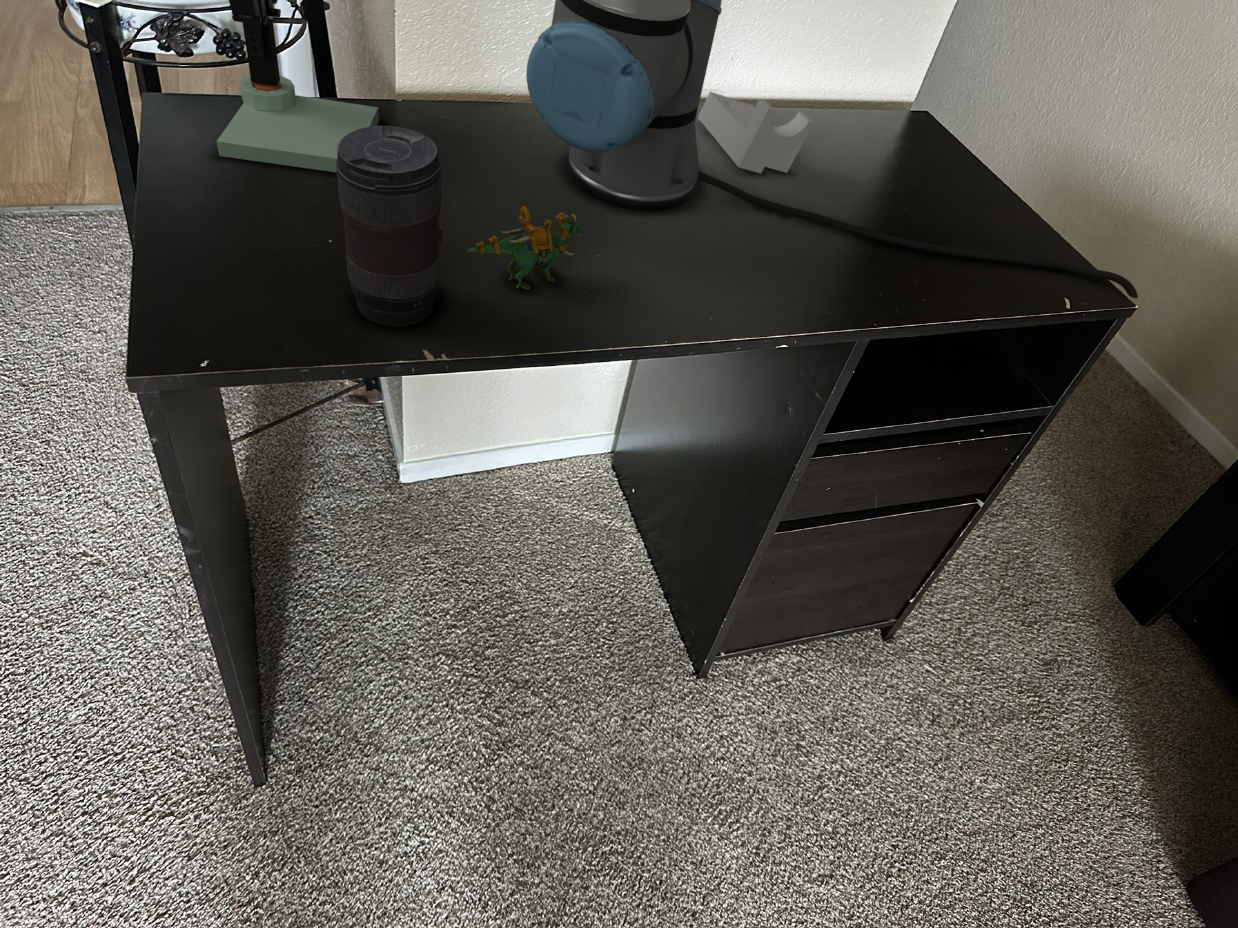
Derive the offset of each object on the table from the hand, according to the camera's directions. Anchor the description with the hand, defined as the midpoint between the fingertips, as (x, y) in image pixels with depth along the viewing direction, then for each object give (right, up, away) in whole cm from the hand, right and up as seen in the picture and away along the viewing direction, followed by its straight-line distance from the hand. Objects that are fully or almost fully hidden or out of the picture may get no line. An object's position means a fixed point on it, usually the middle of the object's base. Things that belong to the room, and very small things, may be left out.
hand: (265, 81), depth 96 cm
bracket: (+55, -2, +16) cm, 58 cm away
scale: (+4, -6, 0) cm, 7 cm away
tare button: (0, -1, +1) cm, 2 cm away
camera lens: (+19, -28, -17) cm, 38 cm away
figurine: (+30, -25, -12) cm, 41 cm away
